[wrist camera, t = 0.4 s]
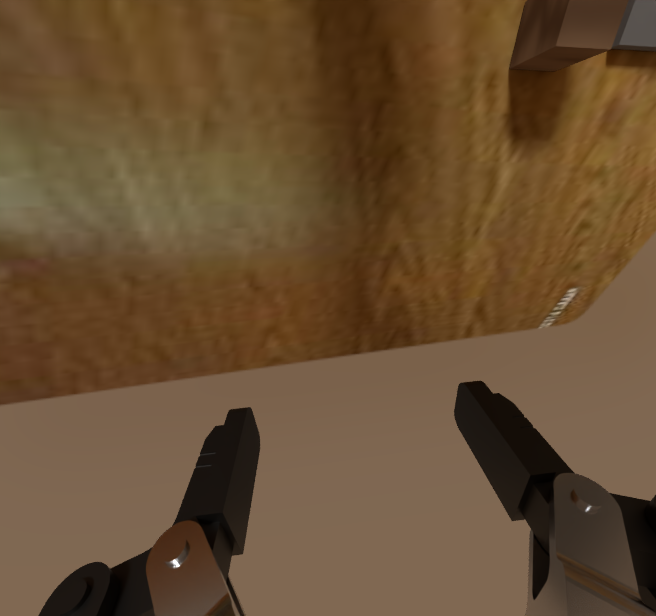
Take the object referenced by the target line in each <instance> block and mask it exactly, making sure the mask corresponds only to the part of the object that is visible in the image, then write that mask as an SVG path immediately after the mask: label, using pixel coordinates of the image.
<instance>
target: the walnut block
mask: <svg viewBox="0 0 656 616" xmlns="http://www.w3.org/2000/svg"><path fill="white" fill-rule="evenodd" d="M628 1H629V0H527V1H526V2H525V6H524V10H523V14H522V19H521V23H520V27H519V31H518V35H517V39H516V43H515V47H514V51H513V56H512V60H511V64H510V68H509V69H520V70H539V71H557V70H560V69H562V68H565V67H567V66H570V65H572V64H575V63H578V62H580V61H583V60H585V59H588V58H590V57H593V56H596V55H598V54H601V53H603V52H606V51H608V50H611V48H612V45H613V42H614V39H615V37H616V34H617V31H618V28H619V26H620V23H621V20H622V17H623V15H624V12H625V9H626V6H627V3H628Z"/></svg>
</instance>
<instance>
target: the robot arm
mask: <svg viewBox="0 0 656 616" xmlns="http://www.w3.org/2000/svg"><path fill="white" fill-rule="evenodd" d="M454 416H455V420H456V423H457V426H458V428H459V430H460V432H461V433H462V435H463V437H464V438H465V440H466V442H467V444H468V445H469V447H470V449H471V451H472V452H473V454H474V456H475V458H476V459H477V461H478V463H479V465H480V466H481V468H482V469H483V471H484V473H485V475H486V477H487V478H488V480H489V482H490V484H491V485H492V487H493V489H494V491H495V492H496V494H497V495H498V498H499V499H500V501H501V503H502V504H503V506H504V508H505V510H506V511H507V513H508V515H509V517H510V518H511V520H512V521H516V520H524V519H525V520H526V521H527V523H528V525H529V526H530V528H531V531H530V538H529V540H530V541H529V572H528V573H529V574H528V602H527V610H526V614H525V616H656V495H655V497H654V498H653V499H652V500H651V501H647V500H642V499H637V498H632V497H627V496H621V495H616V494H612V493H609V492H608V491H606V490H605V489H604V488H603V487H602V486H600V485H599V484H597V483H596V482H594V481H592V480H590V479H589V478H587V477H584V476H582V475H579V474H575V473H574V472H573V471H572V470H571V469H570V468H569V467H568V466H567V464H566V463H565V462H564V461H563V460H562V459H561V458H560V456H559V455H558V454H557V453H556V452H555V451H554V449H553V448H552V447H551V446H550V445H549V444H548V442H547V441H546V440H545V439H544V438H543V437H542V436H541V434H540V433H539V432H538V431H537V430H536V429H535V428H533V425H532V424H531V423H530V422H529V420H528V419H527V418H525V417H524V415H523V414H522V412H521V411H520V410H519V409H518V408H517V407H516V405H515V404H514V403H512V402H511V401H510V400H508V399H507V398H505V397H504V396H502V395H501V394H499V393H496V394H493V393H492V392H491V391H490V389H489V388H488V387H487V386H486V384H485V383H484V382H482V381H473V382H464V383H460V384H459V386H458V391H457V397H456V403H455V409H454ZM259 452H260V436H259V432H258V428H257V425H256V422H255V418H254V415H253V412H252V409H251V408H250V407H248V408H239V409H231V410H229V412H228V414H227V417H226V420H225V424H224V425H221V426H215V428H214V429H213V430H212V431H211V433H210V434H209V435H208V437H207V438H206V439H205V441H204V445H203V448H202V450H201V452H200V456H199V458H198V461H197V463H196V468H195V469H194V472H193V475H192V477H191V480H190V482H189V485H188V488H187V491H186V493H185V496H184V499H183V501H182V504H181V507H180V510H179V512H178V515H177V518H176V520H175V522H174V524H173V525H172V527H170V528H169V529H168V530H166V531H165V532H164V533H163V534H162V535H161V536H160V537H159V539H158V540H157V541H156V543H155V544H154V546H153V547H152V548H150V549H149V550H147V551H145V552H144V553H142V554H140V555H138V556H136V557H134V558H131V559H129V560H127V561H125V562H123V563H122V564H119V565H117V566H115V567H113V568H111V569H110V568H108V566H107V565H106V564H104V563H102V562H93V563H89V564H87V565H85V566H82V567H81V568H79V569H77V570H76V571H74V572H73V573H72V574H70V575H69V576H68V577H67V578H66V579H65V580H64V581H63V582H62V583H61V584H60V585H59V586H58V587H57V588H56V589H55V590H54V592H53V593H52V594H51V596H50V597H49V599H48V600H47V602H46V603H45V605H44V607H43V609H42V610H41V612H40V614H39V616H246V614H245V612H244V610H243V608H242V605H241V603H240V600H239V598H238V596H237V593H236V591H235V589H234V586H233V584H232V582H231V579H230V577H229V575H228V573H229V567H230V562H231V557H232V555H240V554H243V550H244V544H245V538H246V532H247V526H248V519H249V514H250V507H251V501H252V495H253V489H254V482H255V476H256V470H257V464H258V458H259ZM643 602H644V603H643Z"/></svg>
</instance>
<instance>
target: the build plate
mask: <svg viewBox="0 0 656 616" xmlns="http://www.w3.org/2000/svg"><path fill="white" fill-rule="evenodd" d="M611 49H625V50H642V51H656V0H629V1H628V3H627V6H626V9H625V12H624V15H623V17H622V20H621V23H620V26H619V28H618V31H617V34H616V37H615V39H614V42H613V45H612V48H611Z"/></svg>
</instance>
